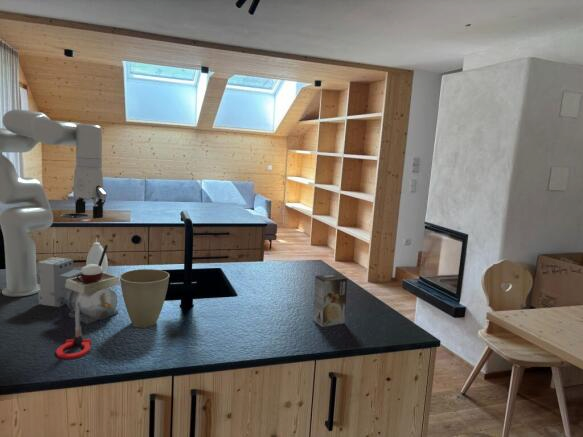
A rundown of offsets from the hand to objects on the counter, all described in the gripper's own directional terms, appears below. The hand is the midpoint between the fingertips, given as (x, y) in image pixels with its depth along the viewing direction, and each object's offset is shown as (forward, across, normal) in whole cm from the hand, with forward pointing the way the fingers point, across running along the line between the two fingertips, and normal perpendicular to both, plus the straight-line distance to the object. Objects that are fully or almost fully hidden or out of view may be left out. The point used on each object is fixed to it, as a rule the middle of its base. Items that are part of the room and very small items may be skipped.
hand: (89, 215), depth 144 cm
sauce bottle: (+33, -26, +20) cm, 47 cm away
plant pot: (+32, +24, +4) cm, 40 cm away
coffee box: (+30, +69, +44) cm, 87 cm away
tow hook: (+32, +24, -20) cm, 45 cm away
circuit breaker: (+33, -11, -2) cm, 35 cm away
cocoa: (+22, +6, -2) cm, 22 cm away
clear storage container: (+32, +6, -2) cm, 33 cm away
